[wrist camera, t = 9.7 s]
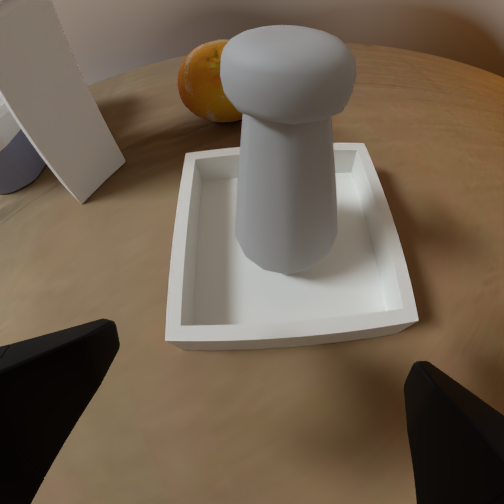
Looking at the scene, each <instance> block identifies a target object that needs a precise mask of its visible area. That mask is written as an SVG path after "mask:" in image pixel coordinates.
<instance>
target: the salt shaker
mask: <svg viewBox="0 0 504 504" xmlns="http://www.w3.org/2000/svg"><path fill="white" fill-rule="evenodd" d="M220 78H221V82H222V86H223V91H224V93H225V95H226V96H227V98H228V100H229V101H230V102H231V103H232V104H233V106H234V107H235V108H236V109H237V110H238V112H241V113H243V116H242V128H241V141H240V155H239V169H238V184H237V199H236V215H235V233H234V234H235V236H236V238H237V240H238V242H239V244H240V246H241V248H242V250H243V252H244V254H245V256H246V257H247V258H248V259H250V260H251V261H252V262H254V263H255V264H257V265H258V266H259V267H261V268H262V269H264V270H267V271H272V272H277V273H281V274H284V275H288V274H292V273H296V272H300V271H305V270H309V269H311V268H312V267H314V266H315V265H316V264H318V263H319V262H320V261H321V260H323V259H324V258H325V257H326V256H328V254H329V253H330V252H331V249H332V247H333V244H334V241H335V239H336V236H337V233H338V223H337V196H336V177H335V163H334V150H333V133H332V119H331V116H334V115H336V114H338V113H340V112H342V111H343V109H344V108H345V106H346V105H347V103H348V101H349V98H350V96H351V94H352V92H353V88H354V83H355V79H356V62H355V57H354V55H353V54H352V53H351V51H350V50H349V48H348V47H347V46H346V45H345V44H344V43H343V42H342V41H341V40H340V39H339V38H337V37H335V36H333V35H331V34H329V33H327V32H324V31H320V30H316V29H311V28H307V27H302V26H291V25H275V26H266V27H259V28H256V29H251V30H248V31H244V32H242V33H240V34H239V35H237V36H235V37H233V38H232V39H231V40H230V41H229V42H228V43H227V44H226V45H225V46H224V47H223V51H222V55H221V63H220Z"/></svg>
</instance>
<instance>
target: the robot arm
mask: <svg viewBox="0 0 504 504" xmlns="http://www.w3.org/2000/svg"><path fill="white" fill-rule="evenodd" d="M119 346H120V342H119V337H118V332H117V327H116V324H115V322H114V321H111V320H108V319H99V320H96V321H92V322H89V323H85V324H82V325H78V326H75V327H71V328H68V329H64V330H61V331H57V332H54V333H50V334H46V335H43V336H39V337H35V338H32V339H28V340H24V341H21V342H17V343H13V344H11V345H10V344H9V345H5V346H1V347H0V504H31V502H32V500H33V499H34V497H35V495H36V493H37V491H38V489H39V487H40V485H41V483H42V482H43V480H44V477H45V476H46V474H47V472H48V470H49V469H50V467H51V465H52V463H53V462H54V460H55V458H56V456H57V455H58V453H59V451H60V450H61V448H62V446H63V444H64V443H65V441H66V439H67V438H68V436H69V434H70V433H71V431H72V429H73V428H74V426H75V425H76V423H77V421H78V420H79V418H80V416H81V415H82V413H83V412H84V410H85V408H86V407H87V405H88V404H89V402H90V401H91V399H92V397H93V396H94V394H95V393H96V391H97V390H98V388H99V386H100V385H101V383H102V381H103V379H104V377H105V375H106V373H107V371H108V369H109V367H110V365H111V363H112V362H113V360H114V358H115V356H116V354H117V352H118V350H119ZM404 397H405V407H406V419H407V431H408V438H409V444H410V450H411V457H412V464H413V471H414V479H415V488H416V499H417V504H504V416H503V415H502V414H501V413H499V412H498V411H496V410H495V409H494V408H492V407H491V406H490V405H488V404H487V403H485V402H484V401H483V400H481V399H480V398H478V397H477V396H476V395H474V394H473V393H472V392H470V391H469V390H467V389H466V388H465V387H463V386H462V385H460V384H459V383H458V382H456V381H455V380H453V379H452V378H451V377H449V376H448V375H446V374H445V373H444V372H442V371H441V370H439V369H438V368H437V367H435V366H434V365H432V364H431V363H430V362H428V361H416V362H415V363H414V364H413V366H412V368H411V370H410V372H409V375H408V377H407V379H406V381H405V384H404Z"/></svg>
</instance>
